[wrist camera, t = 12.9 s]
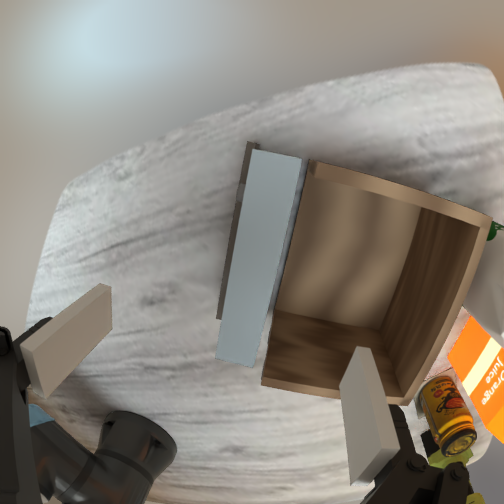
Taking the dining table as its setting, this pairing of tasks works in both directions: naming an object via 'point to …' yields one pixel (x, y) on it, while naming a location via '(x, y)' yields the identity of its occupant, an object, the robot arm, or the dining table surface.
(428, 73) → the dining table surface
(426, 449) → the cordless drill
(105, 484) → the robot arm
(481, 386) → the orange juice
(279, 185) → the door
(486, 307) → the milk carton
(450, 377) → the condiment
